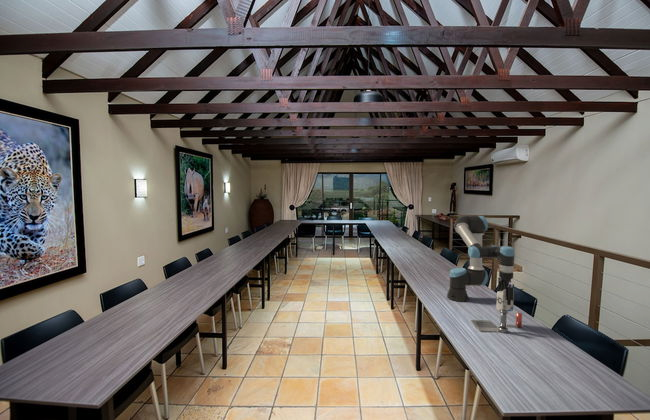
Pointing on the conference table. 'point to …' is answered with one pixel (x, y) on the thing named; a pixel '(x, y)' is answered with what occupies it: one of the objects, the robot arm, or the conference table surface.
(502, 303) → the ink box
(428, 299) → the conference table surface
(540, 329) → the conference table surface
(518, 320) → the lever
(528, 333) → the conference table surface
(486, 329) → the press
